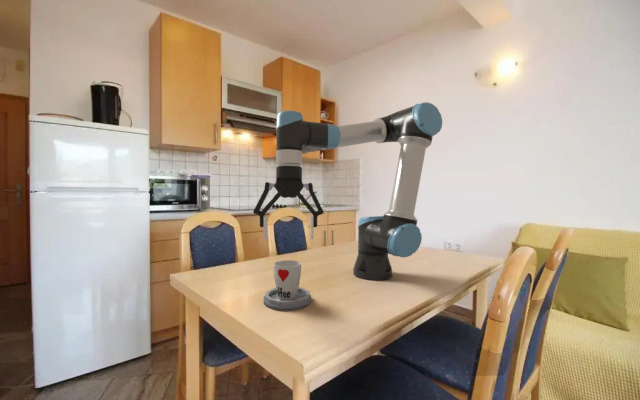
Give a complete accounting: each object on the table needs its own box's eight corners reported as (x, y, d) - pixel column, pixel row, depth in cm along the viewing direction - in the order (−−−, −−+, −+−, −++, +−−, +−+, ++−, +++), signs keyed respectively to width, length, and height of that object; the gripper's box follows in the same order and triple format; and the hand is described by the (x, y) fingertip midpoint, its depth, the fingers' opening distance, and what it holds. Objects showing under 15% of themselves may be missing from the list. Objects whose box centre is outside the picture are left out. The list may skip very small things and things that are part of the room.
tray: (310, 292, 94) (310, 285, 94) (312, 310, 80) (312, 302, 80) (266, 292, 93) (266, 286, 93) (260, 310, 79) (260, 302, 79)
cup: (267, 296, 86) (268, 263, 86) (288, 290, 92) (289, 258, 92) (285, 304, 81) (286, 268, 81) (306, 296, 87) (307, 263, 86)
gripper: (330, 167, 90) (329, 236, 91) (248, 166, 88) (248, 236, 89) (333, 165, 83) (332, 240, 83) (243, 164, 81) (243, 240, 82)
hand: (288, 238), depth 86 cm, fingers open, 13 cm apart
